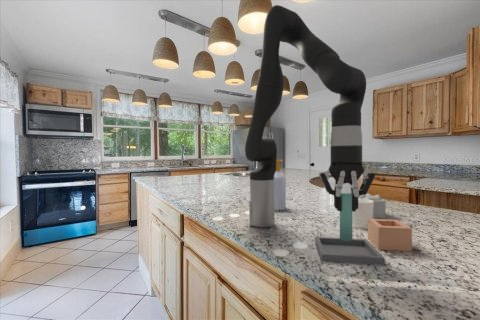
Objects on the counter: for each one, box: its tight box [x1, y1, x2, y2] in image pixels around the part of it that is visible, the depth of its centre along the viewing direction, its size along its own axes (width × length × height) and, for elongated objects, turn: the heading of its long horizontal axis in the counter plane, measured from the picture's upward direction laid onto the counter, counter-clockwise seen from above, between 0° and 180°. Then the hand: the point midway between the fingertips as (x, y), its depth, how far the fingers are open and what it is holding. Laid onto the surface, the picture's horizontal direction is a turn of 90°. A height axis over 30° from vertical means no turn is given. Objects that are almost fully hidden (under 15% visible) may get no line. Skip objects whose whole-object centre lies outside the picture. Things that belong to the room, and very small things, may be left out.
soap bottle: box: [274, 159, 287, 212], centre depth 113 cm, size 9×9×24 cm
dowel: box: [339, 192, 353, 241], centre depth 61 cm, size 3×3×12 cm
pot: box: [367, 218, 413, 252], centre depth 66 cm, size 8×8×7 cm
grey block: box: [358, 193, 386, 219], centre depth 101 cm, size 10×13×9 cm
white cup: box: [352, 198, 374, 230], centre depth 83 cm, size 8×8×10 cm
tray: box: [314, 236, 386, 266], centre depth 62 cm, size 14×12×2 cm
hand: (346, 210), depth 61 cm, fingers closed on dowel, 3 cm apart
